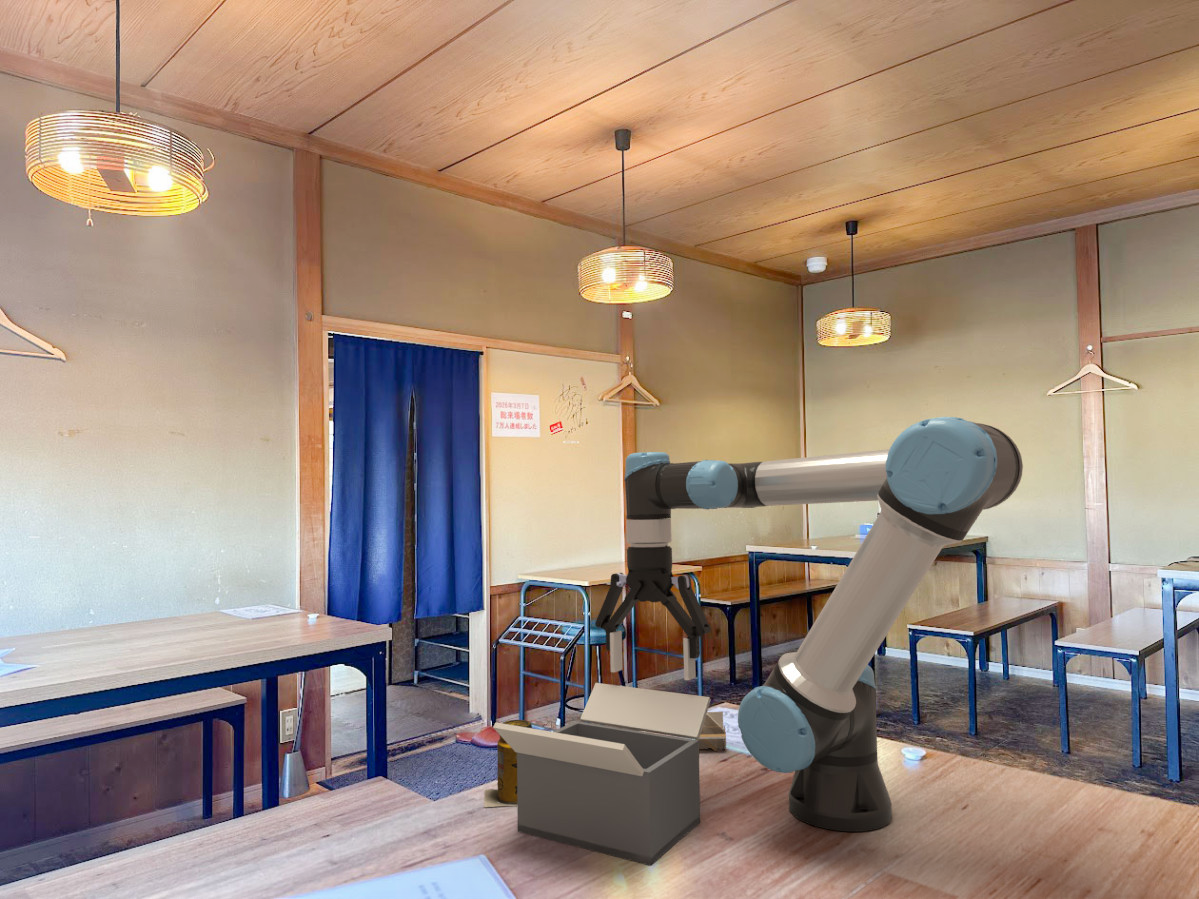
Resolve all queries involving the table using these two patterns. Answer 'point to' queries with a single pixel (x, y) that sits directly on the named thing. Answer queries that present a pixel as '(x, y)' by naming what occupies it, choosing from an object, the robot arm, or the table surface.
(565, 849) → the table surface
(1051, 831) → the table surface
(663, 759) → the carton
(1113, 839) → the table surface
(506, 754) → the condiment
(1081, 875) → the table surface
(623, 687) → the far flap
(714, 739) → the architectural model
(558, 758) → the near flap
